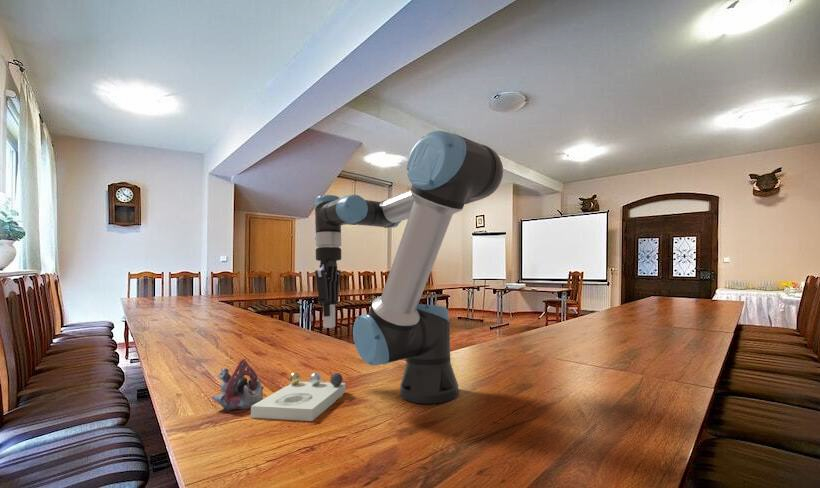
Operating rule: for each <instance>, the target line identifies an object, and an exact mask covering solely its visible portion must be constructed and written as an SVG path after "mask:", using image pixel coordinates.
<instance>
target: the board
mask: <svg viewBox="0 0 820 488" xmlns="http://www.w3.org/2000/svg"><path fill="white" fill-rule="evenodd" d="M346 388H347V385H346V383H345V382H342V383H341V384H340V385H339V386H334V385H332V384H331V382H328V381H327V382H323V381H321V382H320V383H319V384H318V385H312V384H311V383H310V381H300V382H299V383H298V384H295V385H293V384H291V383H289V384H287V385H285V386H284V387H282V388H281V389H279V390H277V391H274V392H273V393H272V394H269V395H268V396H267V397H264V398H262V400H260V401H259V402H257V403H256V404H254V405H252V406H251V407H250V418H251V419H252V418H253V419H268V420H284V421H285V420H287V421H299V422H300V421H303V422H304V421H305V422H313V421H314V420H315V419H317V418H318V417H319V416H320V415H321V414H323V413H324V412H325V411H326V410H327V409H328V408H330V406H332V405H333V404H334V403H335V402H336V400H337V399H338V398H339V399H340V398H341V397H342V396H344V395H345V394H346V393H345V392H347V391H346ZM344 393H345V394H344ZM343 394H344V395H343ZM339 399H338V400H339Z"/></svg>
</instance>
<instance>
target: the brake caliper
mask: <svg viewBox="0 0 820 488" xmlns="http://www.w3.org/2000/svg"><path fill="white" fill-rule="evenodd" d="M246 376H248V377H249V380H248V378H247V377H246ZM217 377H218V379H220V380H221V381H222V382H221V384H220V391H221V393H220V394H216V395H214V396H212V397H211V399H212V400H213V401H214V402H216V403H218V404H219V405H220V406H221V407H222V408H223V409H224V410H227V411H231V410H246V409H251V406H252V405H254V404H256V403H257V402H259V401H261V400H263V397H264V392H263V390H264V386H263V385H262V383H261V381H260V380H259V379H258V375H257V373H256V371H255V370H254V369H253V367H251V366H250V365H249V363H248V362H247V360H245V359H244V358H242V359H240V360H239V361H238V364H237V366H236V367H235V369H234V372H233V373H232V374H231V373H229V369H228V367H224V368H221V369H220V372H219V373H218V374H217Z"/></svg>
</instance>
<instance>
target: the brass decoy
mask: <svg viewBox="0 0 820 488" xmlns="http://www.w3.org/2000/svg"><path fill="white" fill-rule="evenodd" d="M301 380H302V375H301V373H299V372H298V371H293V372H292V373H290V375H289V376H288V382H289V384H293V385H295V384H298V383H299V382H301Z"/></svg>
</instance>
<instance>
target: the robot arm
mask: <svg viewBox="0 0 820 488" xmlns="http://www.w3.org/2000/svg"><path fill="white" fill-rule="evenodd" d="M406 171H408V172H407V178H408V181H409V182H410V183H411V187H410V189H408V190H406V191H403V192H401V193H398V194H395V195H393V196H391V197H389V198H387V199H384V200H382V201H381V200H380V201H376V200H369V199H368V200H367V199H364V198H363V197H362V196H360V195H358V194H347V195H344V196H343V197H341V198H340V196H337V195H333V194H325V195H318V196H317V197H316V199H315V206H314V211H315V212H314V217H315V219H314V220H315V222H314V223H315V237H314V240H315V246H316V248H315V260H316V261H318V262H320V263H319V269H315V271H314V273H315V276H316V283H317V293H318V304H319V306H322V314H323V315H322V319H323V320H322V325H323V326H322V327H323V329H326V328H327V329H328V328H329V329H330V328H332V329H333V328H335V327H336V305H338V304H339V296H340V295H339V294H340V281H341V280H340V278H341V274H342V271H341V269H339V270H338V262H337V261H341V260H342V249H341V246H342V226H343V225H356V226H366V227H367V226H368V227H378V228H386V229H388V228H397V227H398V226H399V224H401V222H402V221H406V220H407V221H406V224H405V227H404V230H403V233H402V236H401V238H400V242H399V244H398V247H397V251H396V253H395V256H394V259H393V261H392V264H391V267H390V270H389V274H388V276H387V279H386V282H385V285H384V287H383V290H382V293H381V296H378V297H376V298H374V299H373V300H372V302H371V305H370V309H369V311H368V313H363V314H361V315H358V316H357V317H356V319H355V321H354V322H353V327H352V335H353V337H352V338H353V342H354V346H355V349H356V351H357V353H358V355H359V357H360V358H361V360H362V361H363V362H364V363H366V364H367V365H369V366H380V365H381V366H382V365H387V364H390V363H394V362H398V361H402V360H405V367H404V369H403V374H402V379H401V381H400V384H399V385H400V387H399V390H400V393H399V396H400V397H401V398H402V399H403V400H404V401H407V402H411V403H416V404H424V405H425V404H427V405H429V404H442V403H447V402H450V401H452V400H454V399H456V398H457V397H458V396H459V384H458V380H457V378H456V375H455V371H454V368H453V367H452V366H453V365H452V361H451V337H450V335H451V334H450V333H451V332H450V331H451V330H450V324H451V323H450V317H449V316H450V315H449V310H448V309H447V307H446V306H444V305H436V304H435V305H434V304H423V303H422V304H420V300H421V298H422V296H423V292H424V291H425V288H426V285H427V282H428V280H429V277H430V274H431V272H432V269H433V266H434V264H435V262H436V259H437V256H438V254H439V251H440V249H441V246H442V244H443V241H444V239H445V235H446V232H447V230H448V228H449V225H450V223H451V220H452V217H453V215H455V214H457V213H459V212H461V211H463V209H464V206H465V205H468V204H471V203H474V202H477V201H481V200H484V199H486V198H488V197H490V196H491V195H492V194H494V193H495V192H496V191H497V190H498V188H499V186H500V185H501V183H502V180H503V176H504V166H503V162H502V159H501V157H500V155H498V152H496V151H495V150H494V149H493V148H492V147H489V146H487V145H485V144H481V143H479V142H477V141H473V140H471V139H469V138H466V137H464V136H461V135H459V134H457V133H452V132H449V131H444V130H433V131H430V132H428V133H426V135H425V136H422V137H420V139H419V140H418V141H416V143H415V144H414V146H413V147H412V149H411V150H410V153H409V155H408V159H407V162H406Z"/></svg>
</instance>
